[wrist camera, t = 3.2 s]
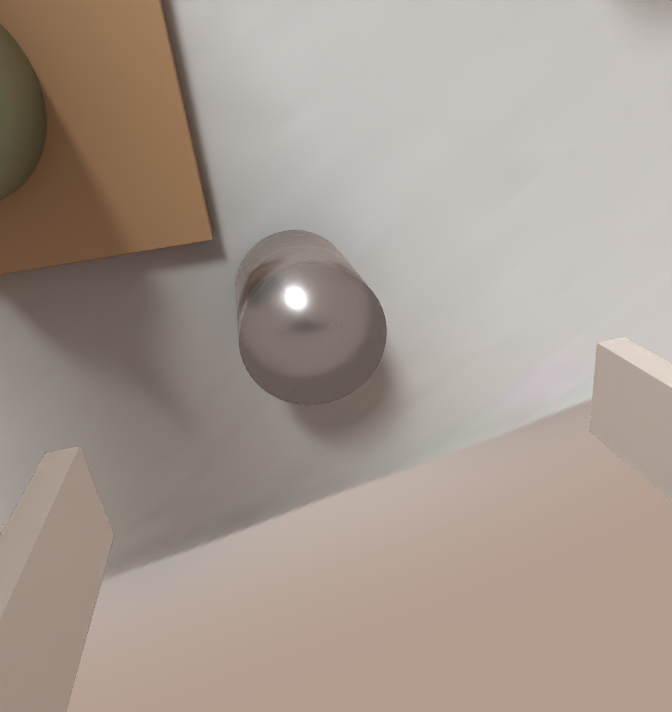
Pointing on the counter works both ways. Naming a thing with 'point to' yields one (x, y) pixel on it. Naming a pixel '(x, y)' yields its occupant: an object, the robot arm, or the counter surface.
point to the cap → (306, 319)
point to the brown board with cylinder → (92, 135)
